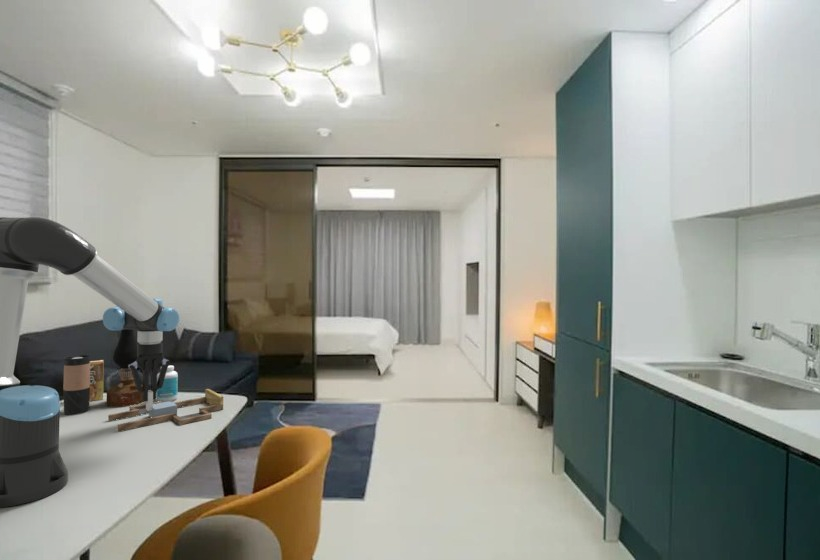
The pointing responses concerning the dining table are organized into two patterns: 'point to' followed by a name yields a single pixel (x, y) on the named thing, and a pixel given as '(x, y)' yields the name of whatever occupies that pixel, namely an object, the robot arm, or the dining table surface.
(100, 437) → the dining table surface
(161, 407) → the slate block
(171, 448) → the dining table surface
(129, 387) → the oil lamp
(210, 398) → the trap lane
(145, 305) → the robot arm
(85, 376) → the travel mug
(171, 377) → the pill bottle
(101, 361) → the candy box
